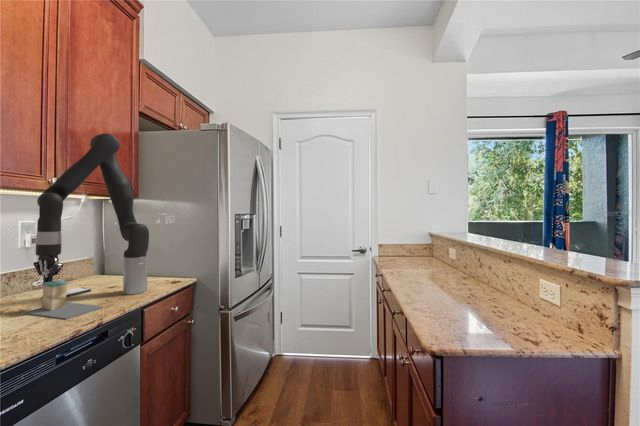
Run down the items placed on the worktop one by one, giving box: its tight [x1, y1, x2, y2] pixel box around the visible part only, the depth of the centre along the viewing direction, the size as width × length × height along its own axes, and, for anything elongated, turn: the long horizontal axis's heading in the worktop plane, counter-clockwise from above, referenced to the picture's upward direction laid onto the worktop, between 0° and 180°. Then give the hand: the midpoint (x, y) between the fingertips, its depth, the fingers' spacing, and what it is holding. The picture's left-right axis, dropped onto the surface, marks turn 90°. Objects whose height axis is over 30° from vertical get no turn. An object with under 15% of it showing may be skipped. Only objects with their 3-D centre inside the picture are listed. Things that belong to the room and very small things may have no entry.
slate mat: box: [22, 301, 104, 320], centre depth 115 cm, size 14×21×1 cm, turn 77°
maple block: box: [41, 279, 68, 311], centre depth 116 cm, size 5×5×10 cm
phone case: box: [41, 286, 92, 300], centre depth 136 cm, size 9×2×16 cm
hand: (47, 286), depth 117 cm, fingers closed
